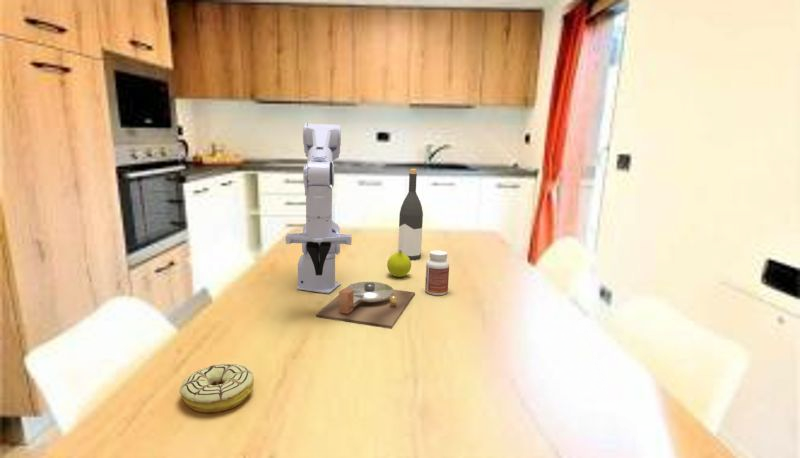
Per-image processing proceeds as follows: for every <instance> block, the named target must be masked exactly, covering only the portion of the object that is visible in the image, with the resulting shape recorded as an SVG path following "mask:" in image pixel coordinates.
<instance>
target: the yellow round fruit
mask: <svg viewBox="0 0 800 458" xmlns="http://www.w3.org/2000/svg"><path fill="white" fill-rule="evenodd" d="M411 261H412V260H410V259H409V257H408V256H407V255H405V254H403V253H402V249H399V252H398V251H397V252H396V253H393V254H392V255H390V257H389V258H388V260H387V264H386V265H387V266H386V267H387V270H388V272H389V274H390V275H392V276H393V277H397V278H401V277H405V276H407V275H408V274H409V273H410V271H411V268H412V262H411Z"/></svg>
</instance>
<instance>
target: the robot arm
mask: <svg viewBox="0 0 800 458" xmlns="http://www.w3.org/2000/svg"><path fill="white" fill-rule="evenodd" d="M341 129H342V128H341V125H340V124H339V123H336V124H329V123H309V122H305V123H304V124H303V127H302V141H303V143H302V144H303V151H304V153H305V157H306V158H307V161H306V163H304V164H303V168H302V171H303V172H302V174H303V181H302V182H303V185H304V196H305V197H306V198H305V224H304V225H303V227H302V232H301V233H299V232H296V233H295V232H294V233H286V235H285V244H286V245H291V244H301V252H302V253H303V254H301V256H300V257H299V259H298V261H297V287H296V290H299V291H300V290H301V291H308V292H315V293H322V294H331V293H332V292H333V291H334V290H336V288H338V287H339V286H340V285H341V282H338V281H337V282H336V255H337V256H338V255H339V254H340V253H341V245H346V246H351V245H352V234H346V233H345V234H343V233H340V231H341V229H340V225H339V224H338V223H337V222H335V221H334V220H333V188H334V185H335V165H334V161H335V160H337V159H339V157H340V154H341V145H342V144H341V143H342V142H341V141H342V140H341V139H342V138H341V136H342V135H341V133H342V130H341Z"/></svg>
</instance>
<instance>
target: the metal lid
mask: <svg viewBox="0 0 800 458" xmlns="http://www.w3.org/2000/svg"><path fill="white" fill-rule="evenodd" d="M393 290H394V288H393V287H392V286H390V285H389V284H386V283H385V282H384V283H383V282H378V281H359V282H354V283H351V284H348V285H347V286H346V288H345V287H344V288H343V289H340V290H339V291H338V295H339V312H341V313H345V314H349V313H350V312H352V311H353V307H355V306H356V305H358V304H359V303H361V302H380V301H385V300H387V299H390V296H391V295H393Z"/></svg>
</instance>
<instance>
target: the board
mask: <svg viewBox="0 0 800 458" xmlns="http://www.w3.org/2000/svg"><path fill="white" fill-rule="evenodd" d="M393 295H395V296H397V303H396V308H391V307H390V299H387V300H385V301H380V302H361V303H359V304H358V305H356V306H355V307H353V311H352V312H350V313H349V314H345V313H341V312H339V294H338V295H336V297H334V298H332V299H331V301H329V302H328V304H326V305H325V306H324V307H322V309H320V310H319V311H318V312H317V313H316V314H315V318H321V319H327V320H334V321H340V322H341V321H342V322H349V323H354V324H358V325H366V326H373V327H380V328H385V329H386V328H387V329H392V328H393V327H394V326H395V324H396V323H397V322H398V320H399V319H400V317H401V316H402V314H403V313H404V311H405V310H406V308H407V307H408V305H409V304H410V302H411V301H412V299H413V298H414V296H415V295H416V292H415V291H408V290H401V289H393Z"/></svg>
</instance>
